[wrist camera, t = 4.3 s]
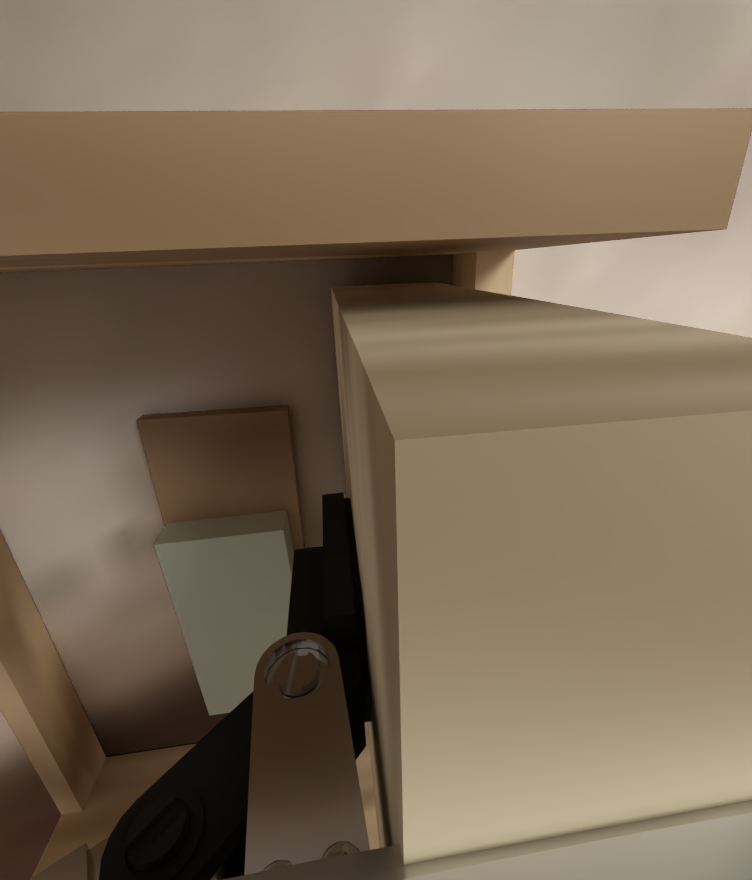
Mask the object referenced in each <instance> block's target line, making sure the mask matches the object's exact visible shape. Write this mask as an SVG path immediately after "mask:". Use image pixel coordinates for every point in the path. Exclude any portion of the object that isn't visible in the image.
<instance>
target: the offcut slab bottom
mask: <svg viewBox="0 0 752 880" xmlns="http://www.w3.org/2000/svg"><path fill="white" fill-rule="evenodd" d="M137 424H138V428H139V432H140V435H141V439H142V443H143V447H144V450H145V454H146V458H147V462H148V465H149V469H150V473H151V477H152V480H153V484H154V488H155V492H156V495H157V499H158V503H159V507H160V510H161V514H162V518H163V522H164V525H165V526H166V525H167V524H168V523H176V522H185V521H193V520H202V519H211V518H220V517H229V516H238V515H247V514H256V513H265V512H274V511H283V510H287V515H288V521H289V527H290V533H291V539H292V545H293V550H294V551H295V549H303V548H305V546H304V538H303V529H302V520H301V512H300V503H299V495H298V486H297V477H296V469H295V460H294V451H293V443H292V434H291V426H290V417H289V408H288V405H287V406H272V407H256V408H241V409H225V410H210V411H194V412H179V413H164V414H148V415H142V416H141V417H140V418H139V419H137Z"/></svg>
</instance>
